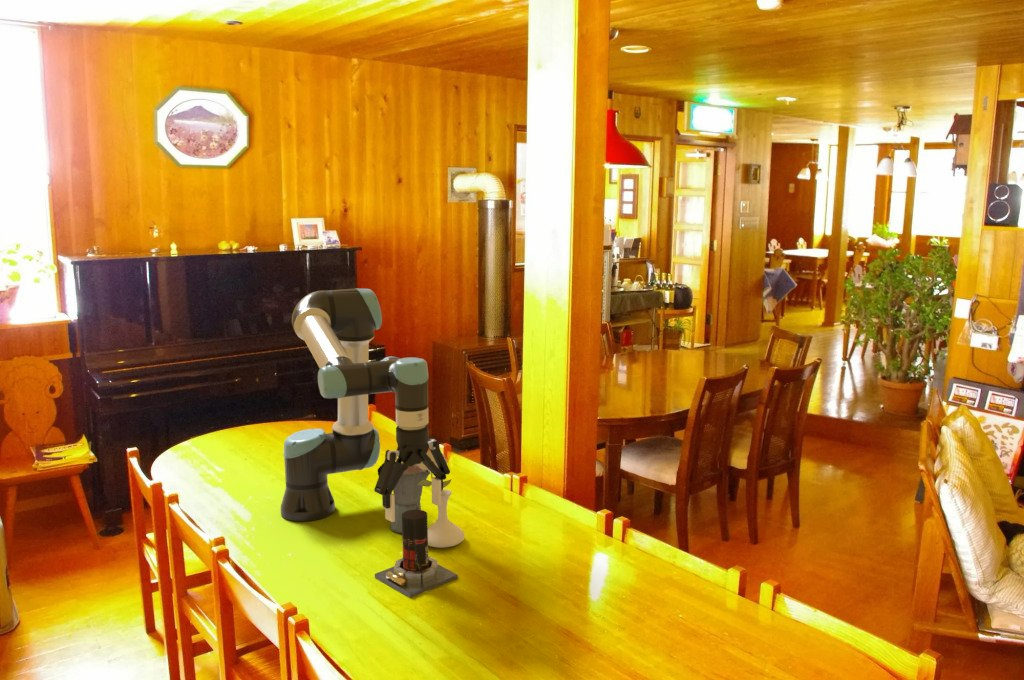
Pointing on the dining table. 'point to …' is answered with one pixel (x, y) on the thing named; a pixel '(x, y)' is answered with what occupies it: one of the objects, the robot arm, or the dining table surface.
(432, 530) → the flower in vase
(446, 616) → the dining table surface
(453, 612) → the dining table surface
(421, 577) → the socket mount
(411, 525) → the deodorant
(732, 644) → the dining table surface
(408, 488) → the moka pot
